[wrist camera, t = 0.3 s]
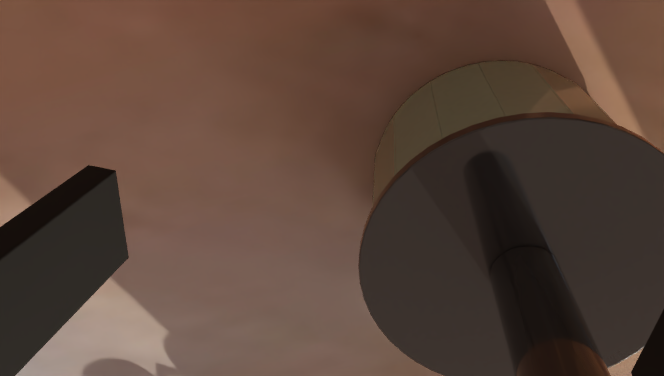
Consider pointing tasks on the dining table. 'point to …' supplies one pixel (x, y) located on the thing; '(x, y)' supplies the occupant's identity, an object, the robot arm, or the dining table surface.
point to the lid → (520, 248)
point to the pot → (473, 108)
